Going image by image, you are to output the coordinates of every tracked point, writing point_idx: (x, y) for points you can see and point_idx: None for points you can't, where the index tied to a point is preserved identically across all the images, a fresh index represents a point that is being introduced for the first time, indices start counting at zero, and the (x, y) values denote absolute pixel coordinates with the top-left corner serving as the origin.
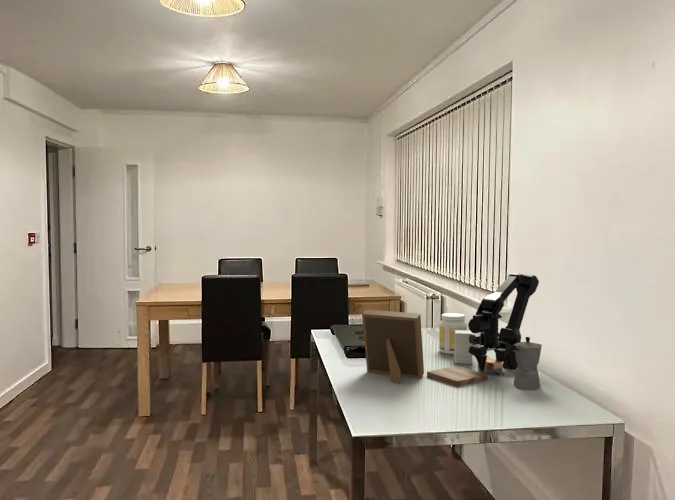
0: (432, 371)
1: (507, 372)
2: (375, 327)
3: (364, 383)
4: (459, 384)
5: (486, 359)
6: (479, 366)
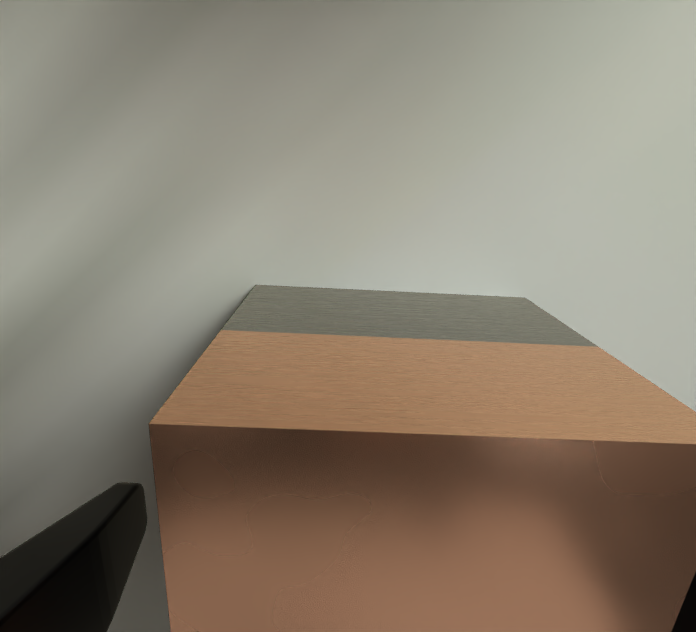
0: None
1: None
2: None
3: None
4: None
5: (474, 593)
6: (14, 562)
